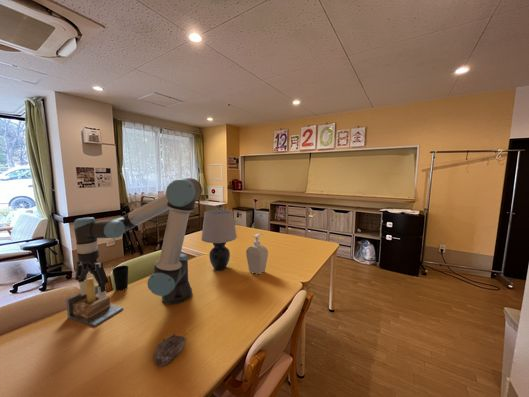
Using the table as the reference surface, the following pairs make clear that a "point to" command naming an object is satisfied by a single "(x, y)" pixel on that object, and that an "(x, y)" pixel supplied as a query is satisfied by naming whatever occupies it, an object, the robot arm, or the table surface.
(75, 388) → the table surface
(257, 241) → the soap bottle
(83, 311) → the block
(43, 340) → the table surface
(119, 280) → the cup
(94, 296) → the dowel
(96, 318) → the dark grey angled piece
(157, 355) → the rock
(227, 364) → the table surface
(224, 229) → the lamp
